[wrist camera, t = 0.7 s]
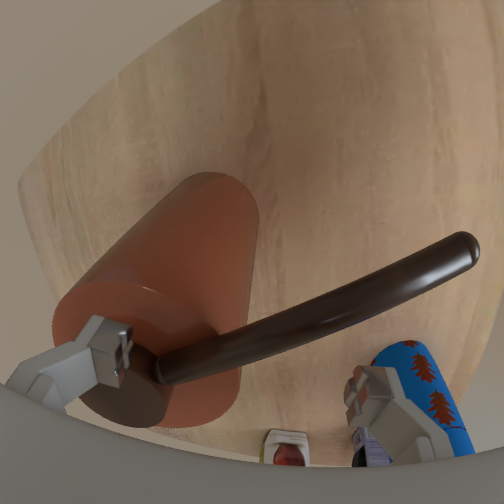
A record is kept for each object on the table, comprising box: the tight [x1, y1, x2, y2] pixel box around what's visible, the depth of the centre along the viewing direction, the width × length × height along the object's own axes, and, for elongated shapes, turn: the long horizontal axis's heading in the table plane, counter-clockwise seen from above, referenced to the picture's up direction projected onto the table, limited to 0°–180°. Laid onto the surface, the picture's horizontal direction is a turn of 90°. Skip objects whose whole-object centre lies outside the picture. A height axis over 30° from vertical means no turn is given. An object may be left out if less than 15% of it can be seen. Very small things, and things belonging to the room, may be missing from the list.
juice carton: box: [259, 429, 310, 467], centre depth 47 cm, size 8×9×19 cm
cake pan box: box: [352, 427, 390, 467], centre depth 46 cm, size 19×5×18 cm, turn 80°
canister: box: [52, 172, 259, 428], centre depth 27 cm, size 11×11×24 cm
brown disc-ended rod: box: [79, 231, 480, 428], centre depth 13 cm, size 21×6×2 cm, turn 118°
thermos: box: [371, 341, 475, 463], centre depth 35 cm, size 11×11×25 cm
